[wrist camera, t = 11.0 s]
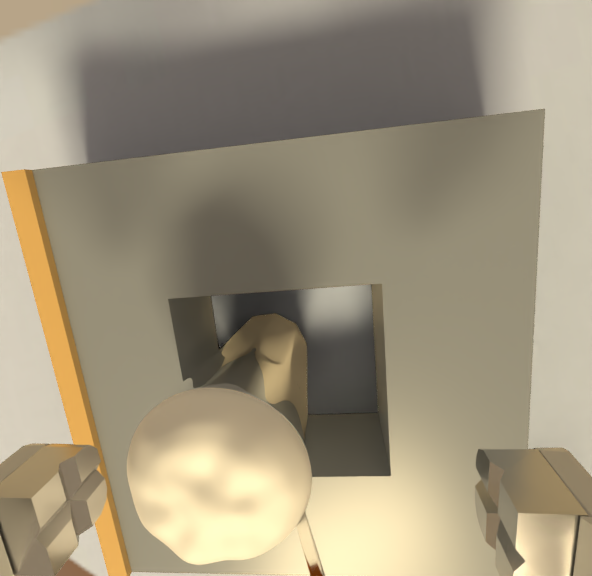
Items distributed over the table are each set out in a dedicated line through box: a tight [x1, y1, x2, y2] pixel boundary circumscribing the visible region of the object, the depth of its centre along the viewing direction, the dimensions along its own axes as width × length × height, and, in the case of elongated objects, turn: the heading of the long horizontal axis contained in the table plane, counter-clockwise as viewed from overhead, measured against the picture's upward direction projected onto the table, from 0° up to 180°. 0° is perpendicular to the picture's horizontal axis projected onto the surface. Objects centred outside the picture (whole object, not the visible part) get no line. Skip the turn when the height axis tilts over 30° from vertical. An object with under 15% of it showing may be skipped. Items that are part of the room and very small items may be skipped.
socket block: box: [1, 109, 545, 576], centre depth 15 cm, size 16×16×4 cm
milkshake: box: [127, 313, 325, 576], centre depth 12 cm, size 4×5×10 cm
